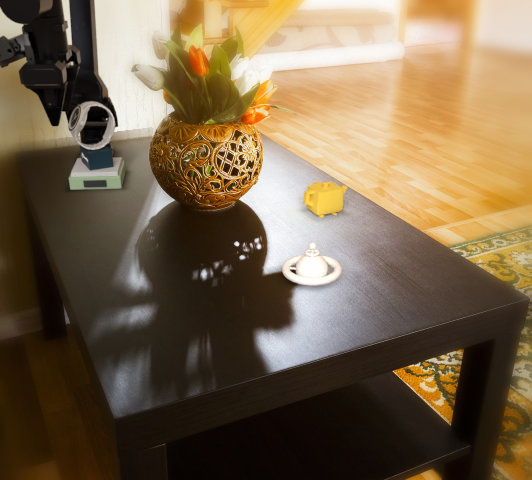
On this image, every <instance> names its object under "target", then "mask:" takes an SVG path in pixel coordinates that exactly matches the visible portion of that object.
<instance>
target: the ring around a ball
mask: <svg viewBox="0 0 532 480" xmlns="http://www.w3.org/2000/svg"><path fill="white" fill-rule="evenodd" d="M293 266H295V267H293ZM329 266H330V267H331V268H332V269H333V272H331V273H330V274H328V273H329ZM292 270H294V271H295V273H294V272H292ZM281 272H282V275H283V276H284V277H285V278H286V279H287V280H288V281H290V282H292V283H295V284H297V285H302V286H303V285H304V286H312V287H313V286H323V285H328V284H331V283H333V282H335V281H337V280H338V279H339V278H340V277H341V276H342V272H343V268H342V265H341V264H340V263H339V262H338V261H337V260H336V259H335V258H332V257H330V256H327V255H323V254H321V251H320V250H319V249H317V244H316V243H315V242H309V244H308V248H307V249H306V250H304V254H299V255H295V256H293V257H290V258H288V259H287V260H285V261H284V263H283V264H282V266H281Z"/></svg>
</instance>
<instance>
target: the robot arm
mask: <svg viewBox="0 0 532 480" xmlns="http://www.w3.org/2000/svg"><path fill="white" fill-rule="evenodd" d="M95 3H96V1H95V0H68V4H69V5H68V6H69V7H68V8H69V20H70V37H71V44H69V41H68V34H67V30H68V28H69V21H68V20H65V13H64V7H63V6H64V5H63V0H0V10H1V12H2V13H3V14H4V16H5V17H6V18H7V19H9V20H10V21H11V22H13V23H15V24H18V25H19V24H20V25H22V26H21V32H22V33H20V34H17V35H15V36H13V37H11V38H8V37H6V36H5V35H1V36H0V68H1V69H4V68H7V67H9V65H10V64H12V63H15V62H17V61H20V60H22V59H25V61H26V62H25V63H24V64H23V65H22V66H21V67H20V69H19V70H18V75H19V81H20V85H22V86H24V88H25V89H27V90H30V91H32V92H33V93H34V94H35V95H36V96H37V97H38V99H39V101H40V103H41V106H42V108H43V109H44V112H45V114H46V117H47V118H48V122H49V124H50V125H51V126H52V127H59V126H60V123H61V118H62V113H64V114H65V117H66V120H67V124H68V125H69V120H70V117H71V114H72V112H73V110H74V108H75V107H76V106H77V105H81V104H82V103H84V102H89V101H94V102H98V103H100V104H102V105H104V106H105V107H106V108H108V109H109V110H110V111H111V113H112V114H113V117H114V121H115V124H116V125H115V128H118V127H119V120H118V115H117V111H116V108H115V105H114V103H113V101H112V99H111V97H110V96H109V88H108V86H106V84H105V82H104V80H103V79H102V77H101V76H100V74H99V58H98V39H97V37H98V36H97V21H96V6H95V5H96V4H95ZM71 63H72V64H71ZM108 121H109V114H108V112H107V111H106V110H105V109H104V108H102V107H99V106H91V107H90V109H89V111H88V112H87V120H86V123H85V126H84V127H83V129H82V130H81V132H79V138H80V139H79V140H80V142H81V143H83V144H91V143H98V142H101V141H102V140H103V136H104V134H105V131H106V129H107V124H108ZM106 145H107V146H108V147H109V148H110V149H111V150H112V157H113V158H114V156H115V152H116V149H115V148H112V146H111V145H112V144H111V141H110V142H109V144H106ZM78 158H81V154H80V155H79V157H78Z"/></svg>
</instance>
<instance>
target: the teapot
mask: <svg viewBox="0 0 532 480" xmlns="http://www.w3.org/2000/svg"><path fill="white" fill-rule="evenodd" d="M347 189H348V186H347V185H342V186H341V185H338V184H337V183H335V182H334V181H323V182H319V181H314V182H312V184H311V183H310V184H308V185H307V190H304V192H303V200H302V201H303V202H302V203H303V204H304V205H305V207H306V208H307V209H308V210H310V212H312V213H314V214H315V215H317V217H318V218H325V215H328V214H331V215H334V216H337V215H338V212H342V211H343V210H344V202H345V199H344V197H345V196H344V195H345V193H346V192H347Z"/></svg>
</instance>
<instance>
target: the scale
mask: <svg viewBox="0 0 532 480" xmlns="http://www.w3.org/2000/svg"><path fill="white" fill-rule="evenodd" d="M113 165H114V167H110V168H104V169H97V170H91V171H90V170H89V169H88V168H87V167H86V166H85V165H84V164H83V162H82V160H81V158H79V157H77V159H76V161H75V163H74V165H73V167H72V169H71V171H70V174H69V176H68V182H69V190H71V191H72V190H73V191H75V190H77V191H78V190H118V189H119V190H120V189H122V188H123V184H124V181H125V180H124V179H125V178H126V177H125V176H126V173H127V170H126V161H125V160H123V157H121V156H120V157H113Z"/></svg>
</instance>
